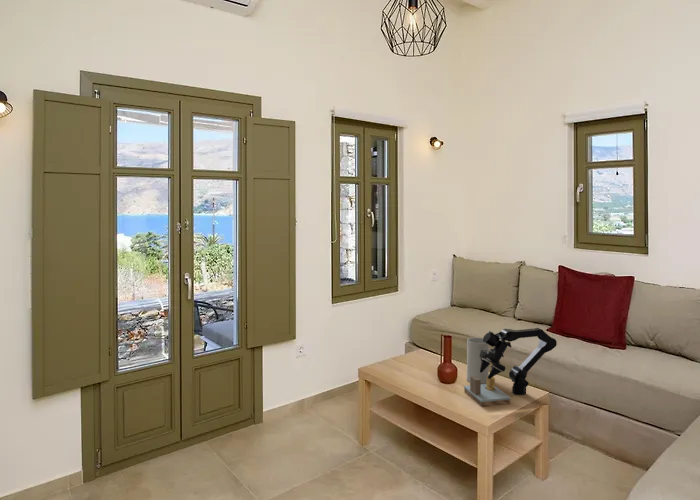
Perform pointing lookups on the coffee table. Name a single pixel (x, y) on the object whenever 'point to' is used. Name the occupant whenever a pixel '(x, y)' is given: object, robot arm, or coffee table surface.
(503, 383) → the coffee table surface
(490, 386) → the golden wooden block
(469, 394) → the brown open tray
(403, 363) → the coffee table surface
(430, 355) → the coffee table surface
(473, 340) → the cylinder vase
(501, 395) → the grey plate with hole
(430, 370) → the coffee table surface
